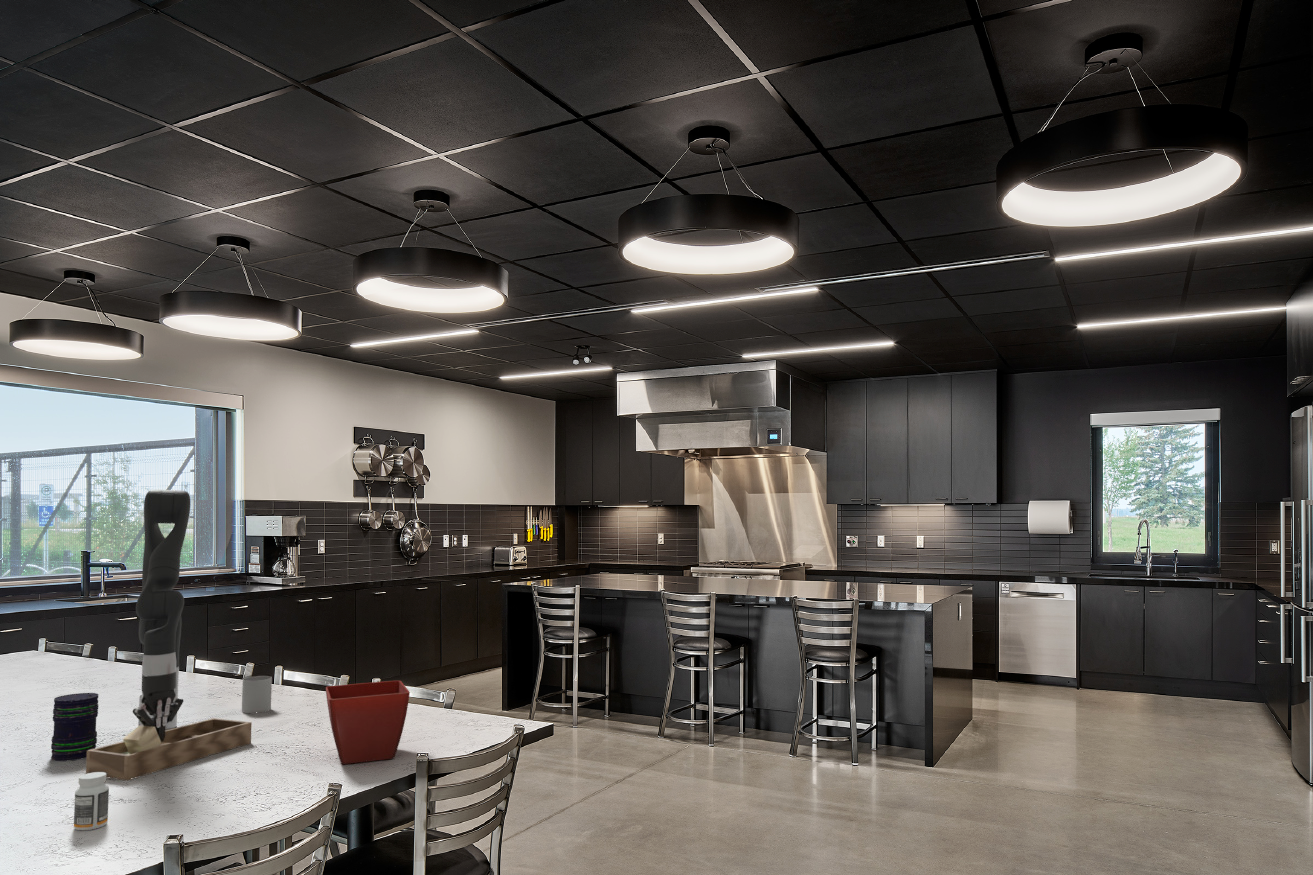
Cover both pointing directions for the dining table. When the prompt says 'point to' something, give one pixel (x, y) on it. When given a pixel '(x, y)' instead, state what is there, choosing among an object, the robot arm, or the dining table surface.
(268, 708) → the cup
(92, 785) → the pill bottle
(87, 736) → the storage jar
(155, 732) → the maple block
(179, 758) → the long open wooden box
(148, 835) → the dining table surface
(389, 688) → the plant pot
